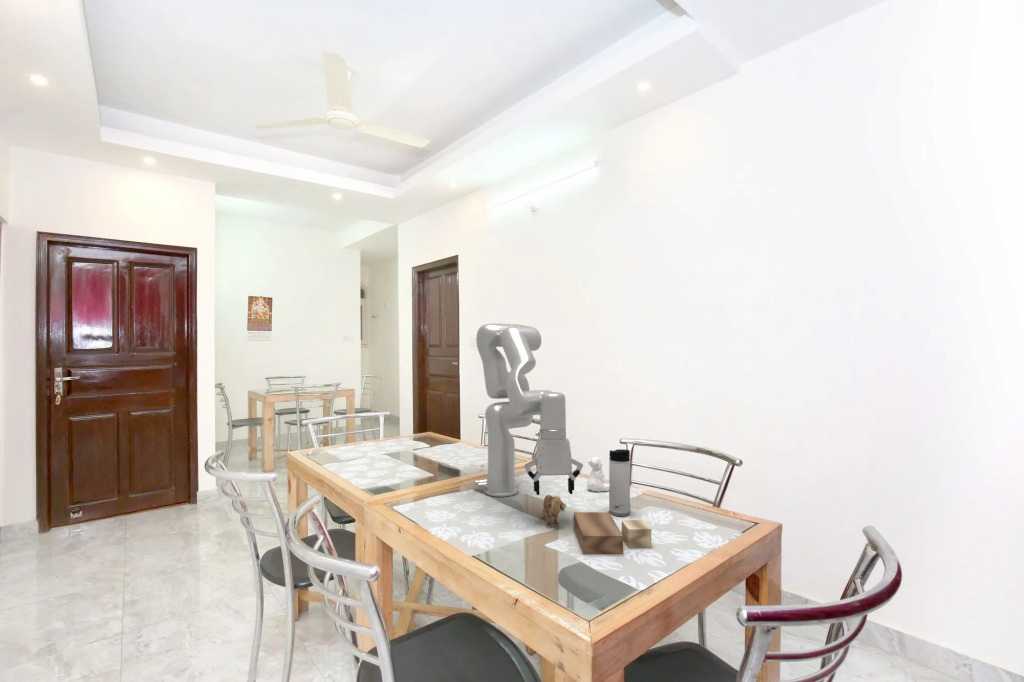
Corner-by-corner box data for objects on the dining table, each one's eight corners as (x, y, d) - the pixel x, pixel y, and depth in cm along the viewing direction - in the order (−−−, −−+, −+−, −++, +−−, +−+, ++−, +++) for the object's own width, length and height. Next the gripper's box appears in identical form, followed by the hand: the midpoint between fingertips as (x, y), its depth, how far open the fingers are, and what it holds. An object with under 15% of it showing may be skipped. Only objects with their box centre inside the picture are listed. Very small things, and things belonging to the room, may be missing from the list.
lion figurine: (567, 530, 129) (567, 498, 129) (549, 531, 127) (550, 499, 127) (550, 511, 143) (551, 482, 143) (534, 512, 142) (534, 483, 142)
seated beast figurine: (616, 491, 163) (616, 457, 163) (599, 495, 158) (599, 461, 158) (597, 484, 170) (597, 452, 171) (580, 488, 166) (580, 455, 166)
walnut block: (583, 555, 113) (583, 535, 114) (573, 529, 129) (573, 512, 130) (623, 555, 114) (623, 535, 114) (608, 529, 130) (608, 512, 130)
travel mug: (619, 518, 137) (619, 452, 137) (605, 511, 143) (605, 447, 143) (635, 515, 140) (635, 450, 140) (620, 508, 146) (620, 445, 146)
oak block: (628, 548, 117) (628, 529, 117) (621, 538, 123) (621, 520, 123) (651, 548, 117) (651, 529, 117) (643, 538, 123) (643, 520, 123)
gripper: (525, 437, 130) (525, 498, 129) (584, 436, 131) (586, 496, 130) (522, 433, 137) (523, 490, 136) (579, 431, 138) (580, 488, 138)
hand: (554, 493), depth 133 cm, fingers open, 9 cm apart
